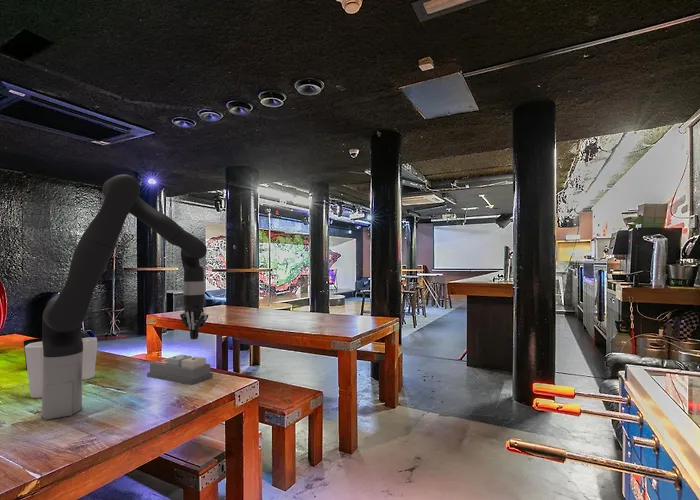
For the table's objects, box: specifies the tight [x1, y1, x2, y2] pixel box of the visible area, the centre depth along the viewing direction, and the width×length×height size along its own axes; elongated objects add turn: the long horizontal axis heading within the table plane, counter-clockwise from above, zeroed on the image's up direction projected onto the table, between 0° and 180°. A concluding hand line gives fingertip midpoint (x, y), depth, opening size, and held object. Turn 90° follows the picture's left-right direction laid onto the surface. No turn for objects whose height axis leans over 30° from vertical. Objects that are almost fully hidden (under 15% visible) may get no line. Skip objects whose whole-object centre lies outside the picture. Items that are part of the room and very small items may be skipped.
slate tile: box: [167, 354, 193, 367], centre depth 138 cm, size 6×6×4 cm
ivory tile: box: [181, 356, 207, 369], centre depth 134 cm, size 6×6×4 cm
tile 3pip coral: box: [153, 357, 169, 365], centre depth 141 cm, size 6×6×4 cm
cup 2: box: [24, 342, 43, 399], centre depth 120 cm, size 11×10×17 cm
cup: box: [23, 337, 42, 371], centre depth 151 cm, size 8×8×12 cm
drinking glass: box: [82, 336, 98, 381], centre depth 137 cm, size 7×7×15 cm
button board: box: [146, 357, 213, 386], centre depth 138 cm, size 24×10×5 cm, turn 65°
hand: (194, 339), depth 135 cm, fingers closed
